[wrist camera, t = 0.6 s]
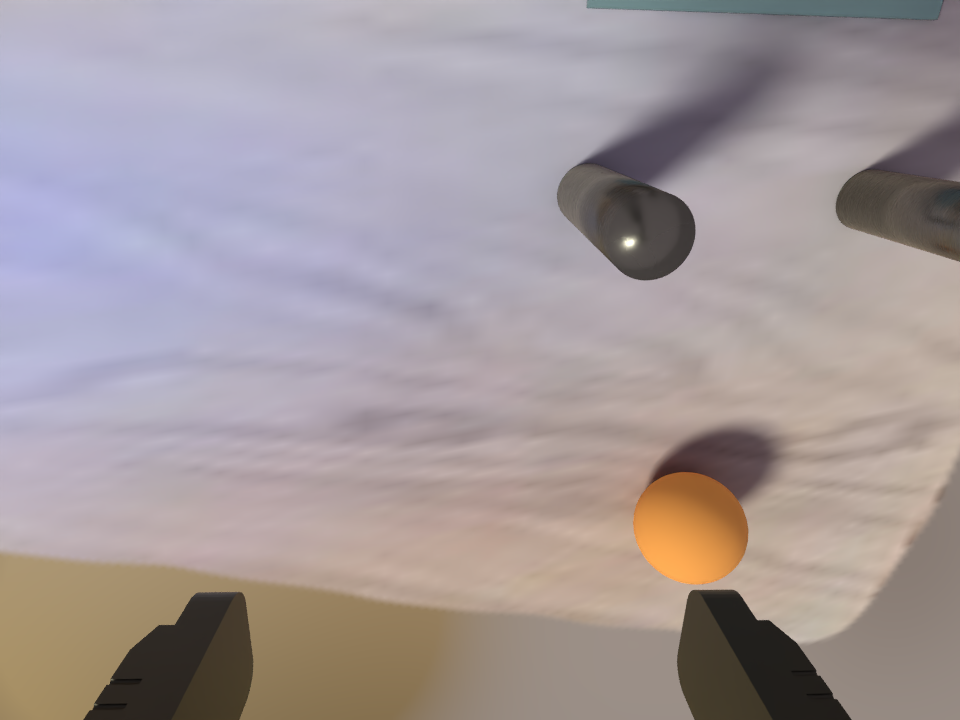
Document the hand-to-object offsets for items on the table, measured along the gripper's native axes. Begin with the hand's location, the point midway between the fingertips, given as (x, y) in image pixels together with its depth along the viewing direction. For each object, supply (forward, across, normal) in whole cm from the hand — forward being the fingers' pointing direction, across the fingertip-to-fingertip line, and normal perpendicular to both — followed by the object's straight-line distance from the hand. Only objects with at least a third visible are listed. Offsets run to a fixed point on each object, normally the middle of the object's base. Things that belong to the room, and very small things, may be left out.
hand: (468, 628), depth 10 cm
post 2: (+18, -18, -7) cm, 26 cm away
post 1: (+18, -6, -7) cm, 20 cm away
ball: (+16, -12, +9) cm, 22 cm away
